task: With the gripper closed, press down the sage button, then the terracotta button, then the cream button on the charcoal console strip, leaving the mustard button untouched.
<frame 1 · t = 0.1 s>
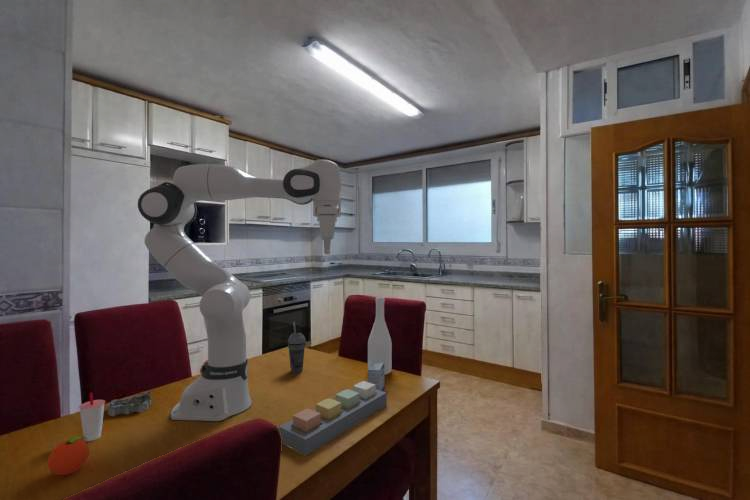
hand: (326, 253, 114), 48 cm above the table, fingers open, 8 cm apart
console: (338, 421, 101), on the table
cup: (92, 438, 92), on the table
button sage: (347, 399, 104), point 5 cm above the table, slide at 0.0 cm
grey bottle: (379, 372, 141), on the table
clementine: (71, 471, 79), on the table
button terracotta: (306, 421, 91), point 5 cm above the table, slide at 0.0 cm
button mustard: (328, 409, 98), point 5 cm above the table, slide at 0.0 cm
egg carton: (130, 411, 108), on the table
beverage cup: (296, 371, 142), on the table
button cream: (364, 390, 111), point 5 cm above the table, slide at 0.0 cm
medicine box: (376, 391, 123), on the table
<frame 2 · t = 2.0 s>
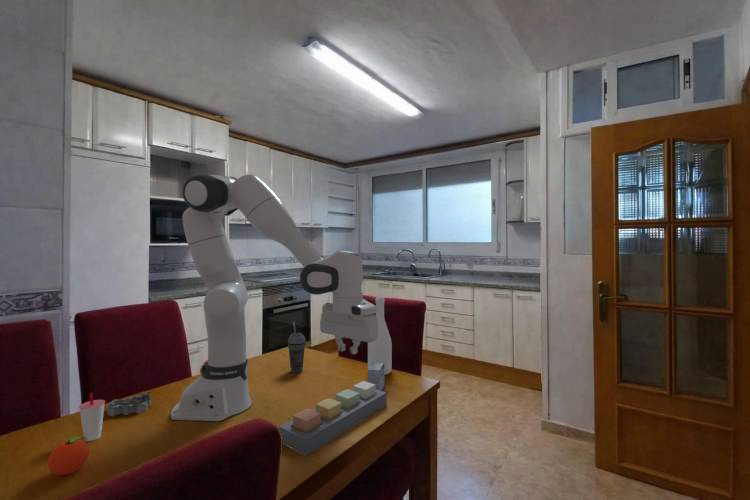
hand: (347, 352, 104), 19 cm above the table, fingers open, 3 cm apart
nothing on the table moved.
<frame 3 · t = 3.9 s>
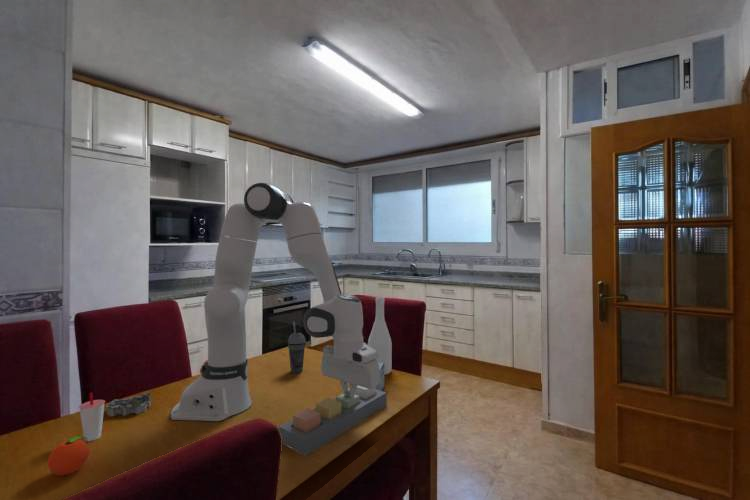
hand: (349, 395, 105), 6 cm above the table, fingers closed, pressing on button sage
button sage: (347, 402, 104), point 4 cm above the table, slide at -0.8 cm, touching gripper
everything else where it was.
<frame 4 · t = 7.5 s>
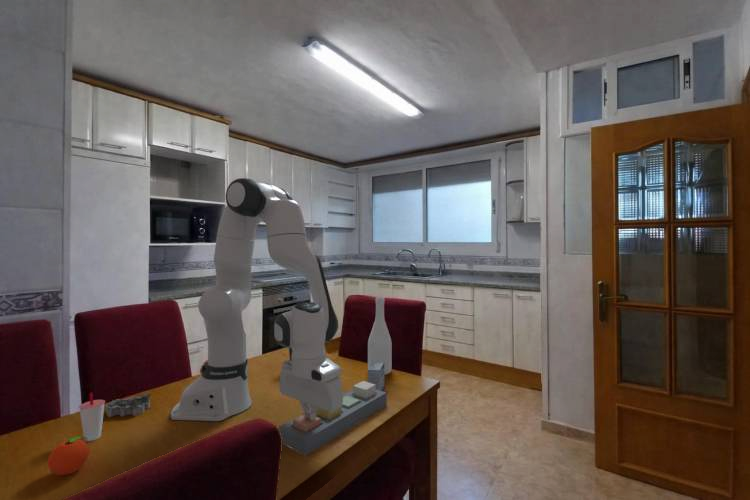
hand: (309, 418, 92), 5 cm above the table, fingers closed
button sage: (347, 406, 104), point 3 cm above the table, slide at -2.1 cm
button terracotta: (306, 426, 91), point 4 cm above the table, slide at -1.3 cm, touching gripper
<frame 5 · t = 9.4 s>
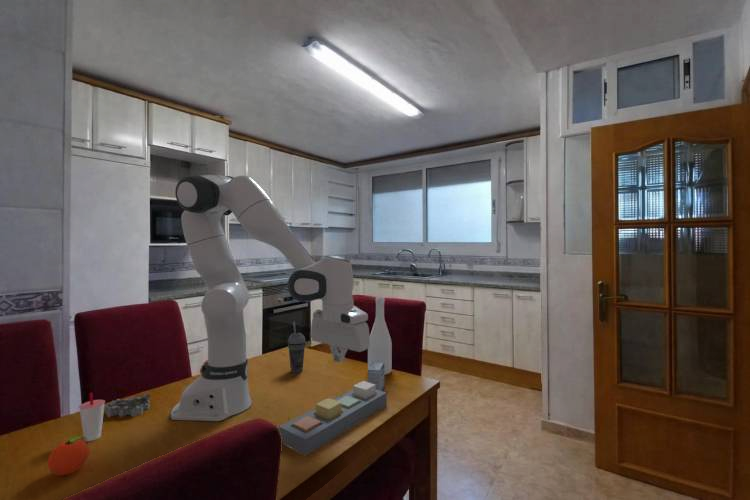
hand: (338, 361, 100), 18 cm above the table, fingers closed
button terracotta: (306, 429, 91), point 3 cm above the table, slide at -2.1 cm
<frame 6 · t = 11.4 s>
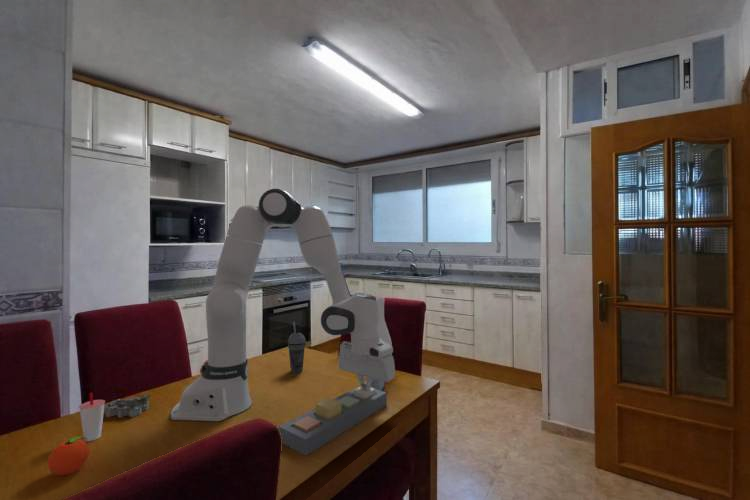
hand: (365, 388, 111), 5 cm above the table, fingers closed, pressing on button cream
button cream: (364, 394, 111), point 4 cm above the table, slide at -1.3 cm, touching gripper
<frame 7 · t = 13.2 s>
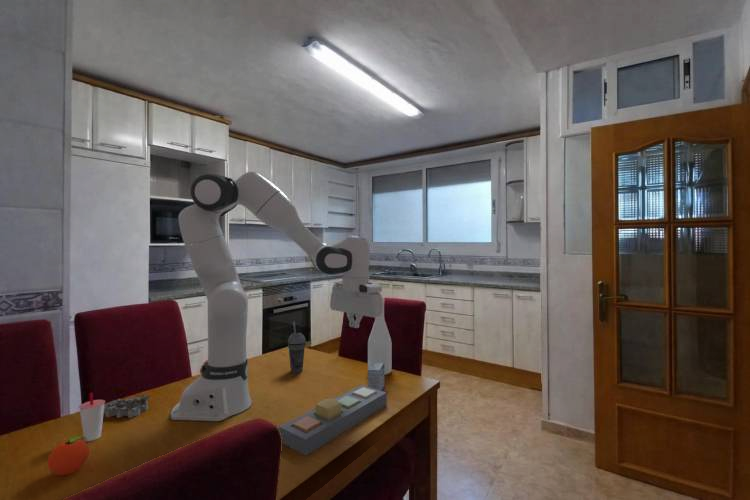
hand: (354, 327, 116), 24 cm above the table, fingers closed
button cream: (364, 397, 111), point 3 cm above the table, slide at -2.1 cm
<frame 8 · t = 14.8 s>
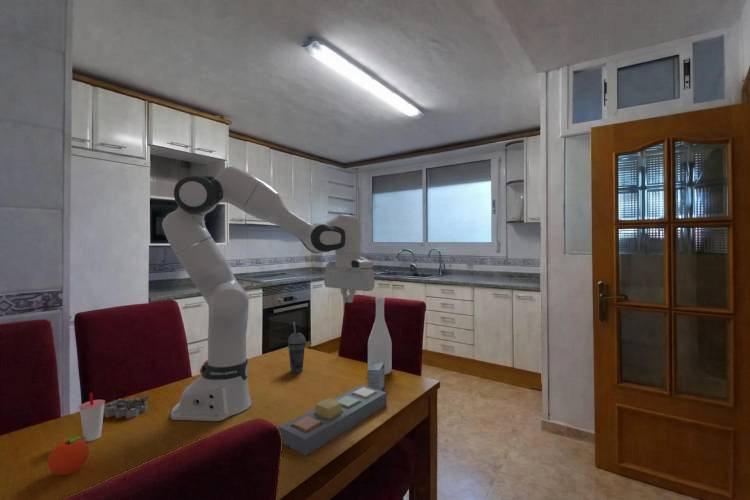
hand: (348, 302, 121), 31 cm above the table, fingers closed
at the end: button sage slide at -2.1 cm; button terracotta slide at -2.1 cm; button cream slide at -2.1 cm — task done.
